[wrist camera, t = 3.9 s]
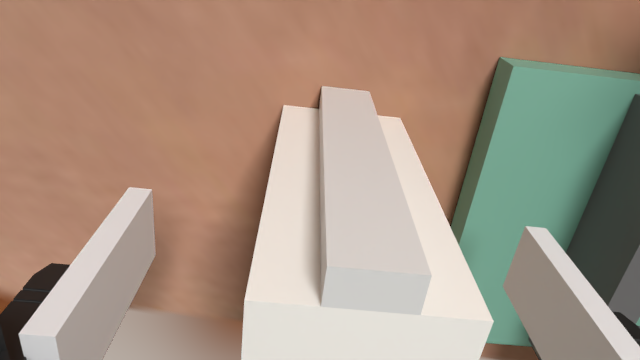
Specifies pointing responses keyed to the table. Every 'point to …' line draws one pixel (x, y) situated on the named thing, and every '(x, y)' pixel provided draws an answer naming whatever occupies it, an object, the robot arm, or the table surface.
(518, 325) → the board
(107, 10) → the table surface
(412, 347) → the plug
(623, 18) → the table surface
